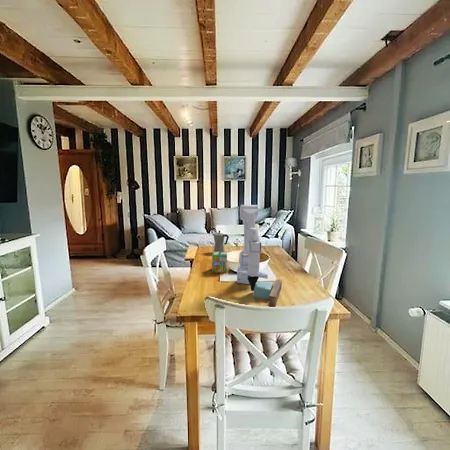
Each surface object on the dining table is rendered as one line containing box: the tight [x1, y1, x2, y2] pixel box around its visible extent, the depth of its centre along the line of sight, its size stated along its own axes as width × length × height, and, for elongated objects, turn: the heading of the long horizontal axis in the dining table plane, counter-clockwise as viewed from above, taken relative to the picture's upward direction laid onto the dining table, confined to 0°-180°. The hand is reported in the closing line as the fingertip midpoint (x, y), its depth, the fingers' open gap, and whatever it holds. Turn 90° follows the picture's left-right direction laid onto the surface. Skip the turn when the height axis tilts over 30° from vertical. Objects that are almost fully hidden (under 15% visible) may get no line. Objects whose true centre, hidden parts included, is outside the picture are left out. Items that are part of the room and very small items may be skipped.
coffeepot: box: [212, 230, 229, 252], centre depth 225 cm, size 15×9×18 cm, turn 59°
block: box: [253, 280, 274, 300], centre depth 140 cm, size 8×10×5 cm
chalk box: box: [211, 249, 228, 274], centre depth 177 cm, size 9×9×15 cm
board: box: [268, 279, 283, 307], centre depth 139 cm, size 3×24×4 cm, turn 162°
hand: (252, 290), depth 142 cm, fingers closed
